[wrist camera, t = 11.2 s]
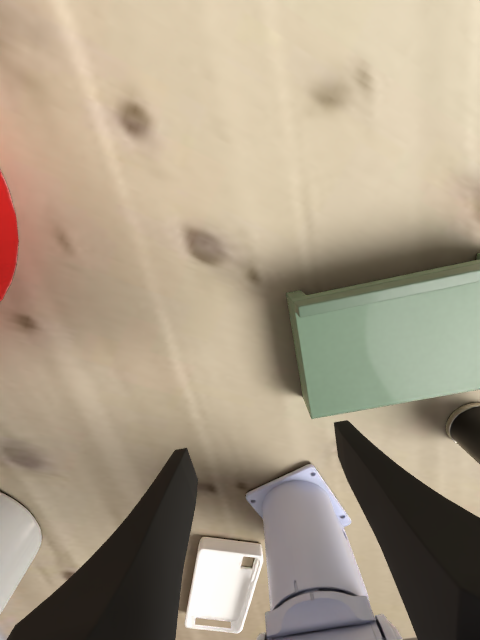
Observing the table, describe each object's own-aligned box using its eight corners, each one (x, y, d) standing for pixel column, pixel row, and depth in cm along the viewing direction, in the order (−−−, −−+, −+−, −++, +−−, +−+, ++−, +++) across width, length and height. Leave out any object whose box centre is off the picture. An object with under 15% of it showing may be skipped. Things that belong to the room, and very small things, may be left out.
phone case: (200, 535, 29) (185, 613, 33) (198, 549, 27) (183, 628, 32) (263, 543, 29) (240, 619, 33) (264, 557, 28) (240, 634, 32)
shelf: (482, 364, 22) (541, 394, 18) (302, 397, 23) (316, 432, 19) (492, 249, 19) (564, 252, 15) (285, 293, 20) (297, 306, 16)
